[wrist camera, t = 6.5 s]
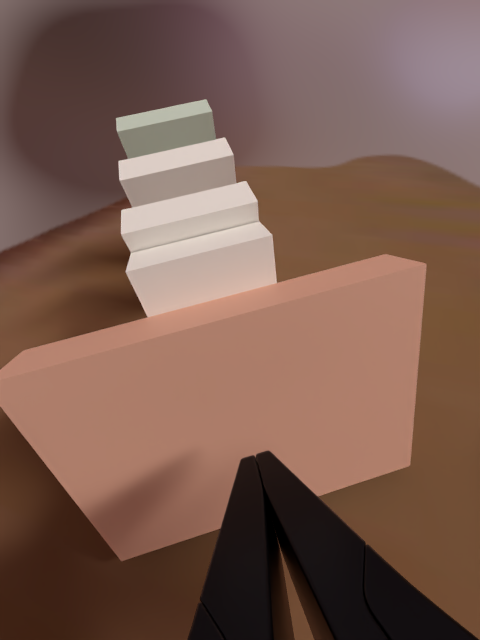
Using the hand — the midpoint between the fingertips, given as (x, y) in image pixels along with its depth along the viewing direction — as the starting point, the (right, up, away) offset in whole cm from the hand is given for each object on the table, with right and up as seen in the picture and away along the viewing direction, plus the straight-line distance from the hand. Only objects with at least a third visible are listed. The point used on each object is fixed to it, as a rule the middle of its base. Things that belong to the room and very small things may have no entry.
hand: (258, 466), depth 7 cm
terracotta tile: (+1, -4, +6) cm, 7 cm away
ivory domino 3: (0, -1, +8) cm, 8 cm away
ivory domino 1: (-3, +6, +13) cm, 15 cm away
